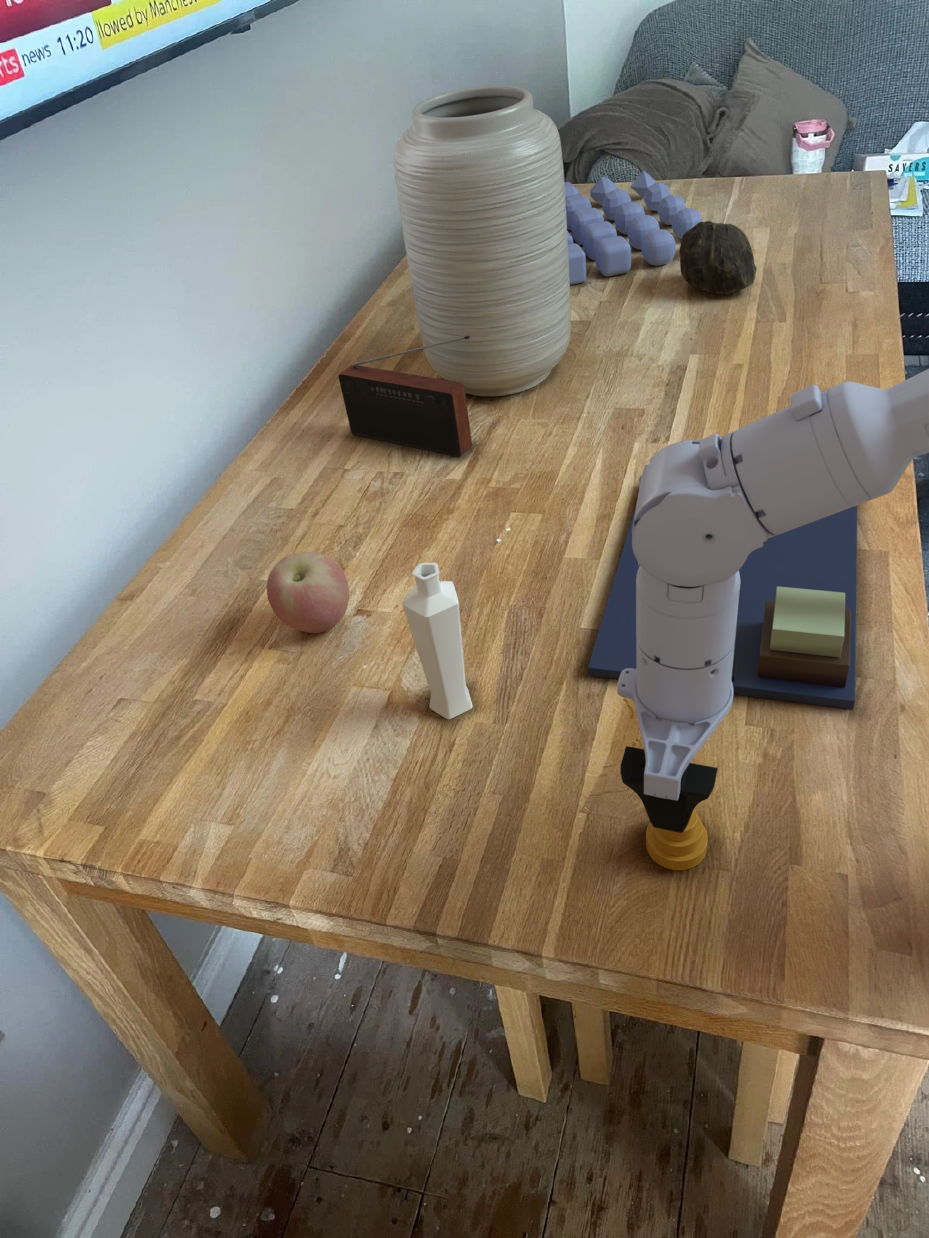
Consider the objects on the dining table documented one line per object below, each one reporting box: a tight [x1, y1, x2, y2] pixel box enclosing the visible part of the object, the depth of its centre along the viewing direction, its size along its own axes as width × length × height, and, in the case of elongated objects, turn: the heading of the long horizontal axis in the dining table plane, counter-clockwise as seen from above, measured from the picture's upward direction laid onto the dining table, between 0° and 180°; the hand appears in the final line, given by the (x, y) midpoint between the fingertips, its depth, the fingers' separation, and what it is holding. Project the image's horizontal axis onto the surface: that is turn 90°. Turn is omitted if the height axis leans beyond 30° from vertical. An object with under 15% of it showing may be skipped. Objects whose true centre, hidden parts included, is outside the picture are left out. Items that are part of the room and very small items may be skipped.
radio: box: [337, 336, 473, 458], centre depth 112 cm, size 19×3×15 cm, turn 60°
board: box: [587, 502, 858, 710], centre depth 90 cm, size 30×22×1 cm
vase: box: [393, 84, 572, 398], centre depth 118 cm, size 20×20×34 cm
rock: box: [678, 220, 758, 296], centre depth 138 cm, size 10×11×10 cm
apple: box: [266, 551, 350, 634], centre depth 91 cm, size 8×8×8 cm
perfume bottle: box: [401, 562, 474, 720], centre depth 78 cm, size 5×4×15 cm
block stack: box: [757, 586, 851, 688], centre depth 79 cm, size 7×7×5 cm
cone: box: [645, 808, 709, 871], centre depth 68 cm, size 4×4×6 cm
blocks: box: [564, 170, 703, 286], centre depth 159 cm, size 35×34×5 cm
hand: (678, 780), depth 64 cm, fingers open, 7 cm apart
